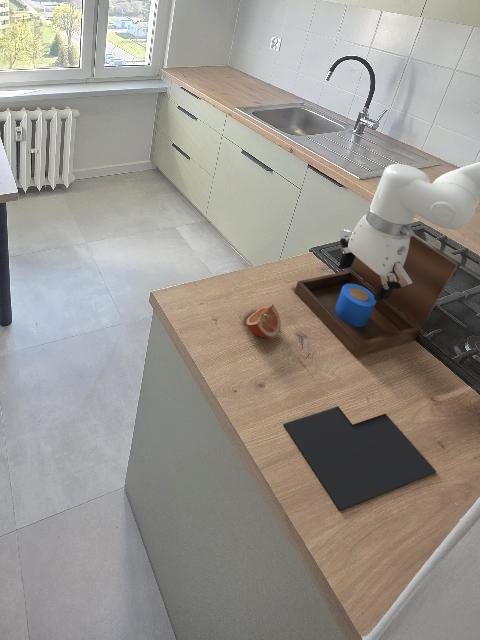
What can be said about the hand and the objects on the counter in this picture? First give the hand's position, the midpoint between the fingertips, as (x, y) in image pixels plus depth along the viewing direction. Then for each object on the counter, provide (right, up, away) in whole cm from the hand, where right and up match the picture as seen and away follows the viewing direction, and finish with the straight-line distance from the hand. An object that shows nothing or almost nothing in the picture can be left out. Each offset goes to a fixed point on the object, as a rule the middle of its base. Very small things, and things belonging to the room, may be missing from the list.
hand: (361, 282), depth 94 cm
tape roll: (0, -9, +4) cm, 10 cm away
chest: (0, -10, +4) cm, 11 cm away
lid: (+9, +3, +1) cm, 9 cm away
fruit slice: (-23, -11, 0) cm, 25 cm away
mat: (-15, -21, -22) cm, 34 cm away
